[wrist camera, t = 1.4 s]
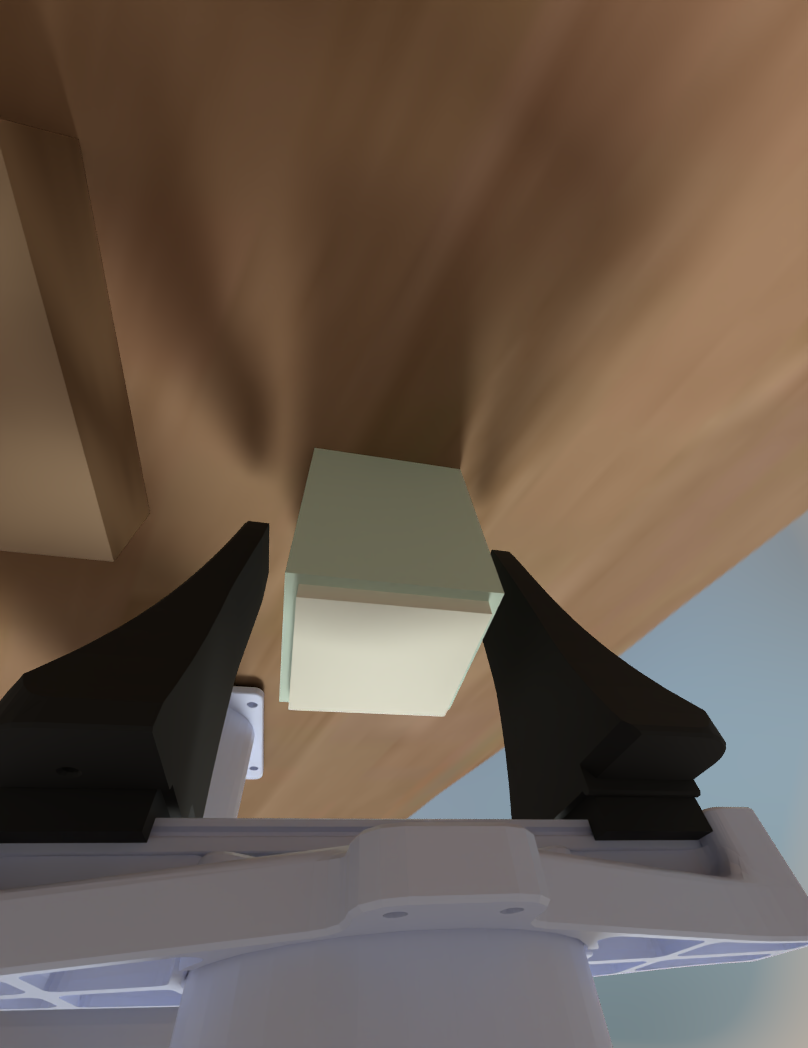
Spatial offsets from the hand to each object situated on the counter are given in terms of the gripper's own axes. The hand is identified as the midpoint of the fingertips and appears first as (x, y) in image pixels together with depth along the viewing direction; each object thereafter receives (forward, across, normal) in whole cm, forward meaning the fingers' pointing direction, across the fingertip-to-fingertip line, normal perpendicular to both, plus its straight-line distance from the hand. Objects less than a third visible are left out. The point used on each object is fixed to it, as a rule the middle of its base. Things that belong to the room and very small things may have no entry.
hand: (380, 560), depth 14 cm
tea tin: (+2, 0, 0) cm, 3 cm away
